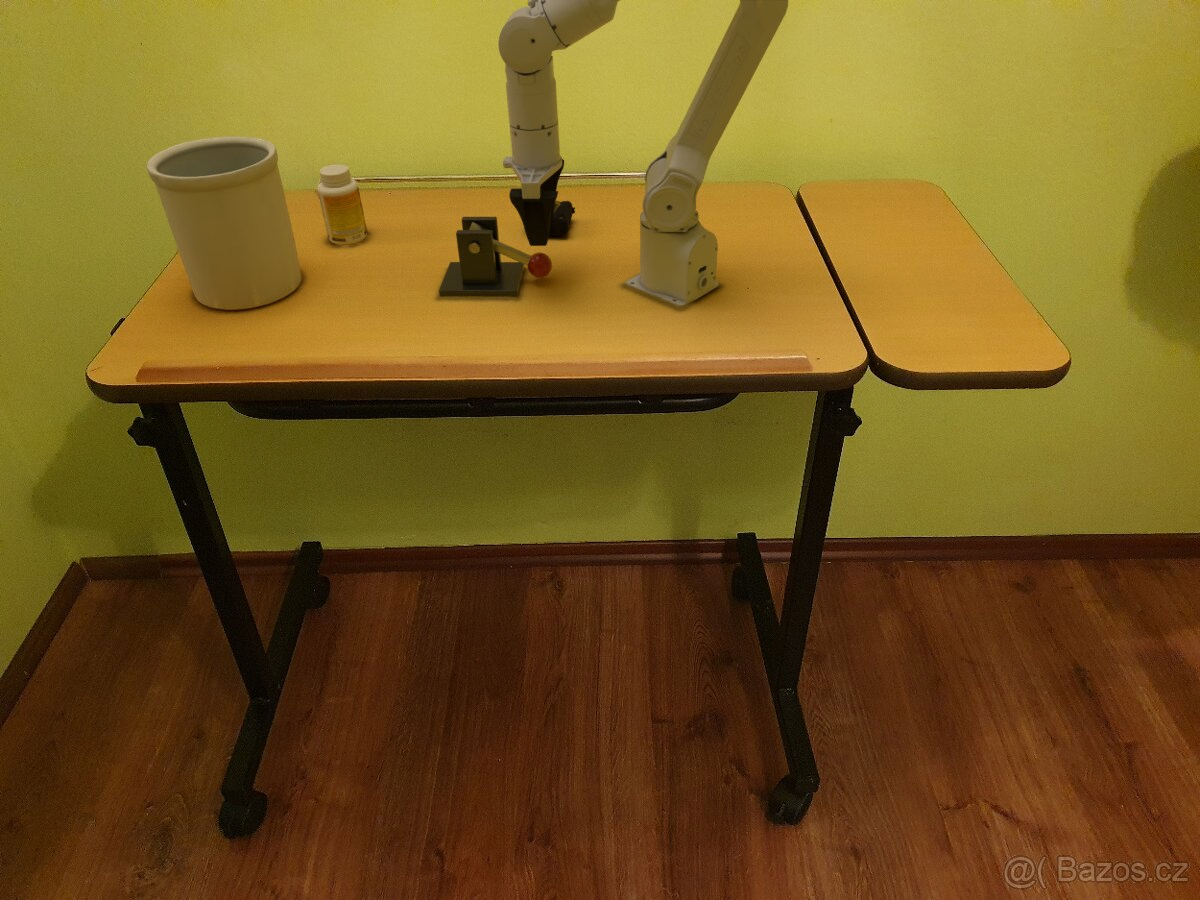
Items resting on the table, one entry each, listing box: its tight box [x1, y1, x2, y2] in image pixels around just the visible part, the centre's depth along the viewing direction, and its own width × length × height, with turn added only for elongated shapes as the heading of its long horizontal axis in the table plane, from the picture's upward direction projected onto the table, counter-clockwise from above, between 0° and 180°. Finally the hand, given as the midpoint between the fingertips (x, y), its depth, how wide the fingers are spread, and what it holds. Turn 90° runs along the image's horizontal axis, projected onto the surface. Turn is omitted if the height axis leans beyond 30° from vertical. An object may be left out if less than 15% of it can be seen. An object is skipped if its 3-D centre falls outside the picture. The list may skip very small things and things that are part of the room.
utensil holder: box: [146, 135, 302, 311], centre depth 114 cm, size 15×15×18 cm
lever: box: [469, 222, 553, 279], centre depth 115 cm, size 12×3×3 cm, turn 88°
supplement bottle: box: [317, 163, 368, 246], centre depth 127 cm, size 6×6×10 cm
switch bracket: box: [438, 216, 525, 298], centre depth 116 cm, size 10×8×8 cm
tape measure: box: [548, 200, 576, 238], centre depth 129 cm, size 7×7×4 cm
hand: (541, 231), depth 114 cm, fingers open, 7 cm apart
